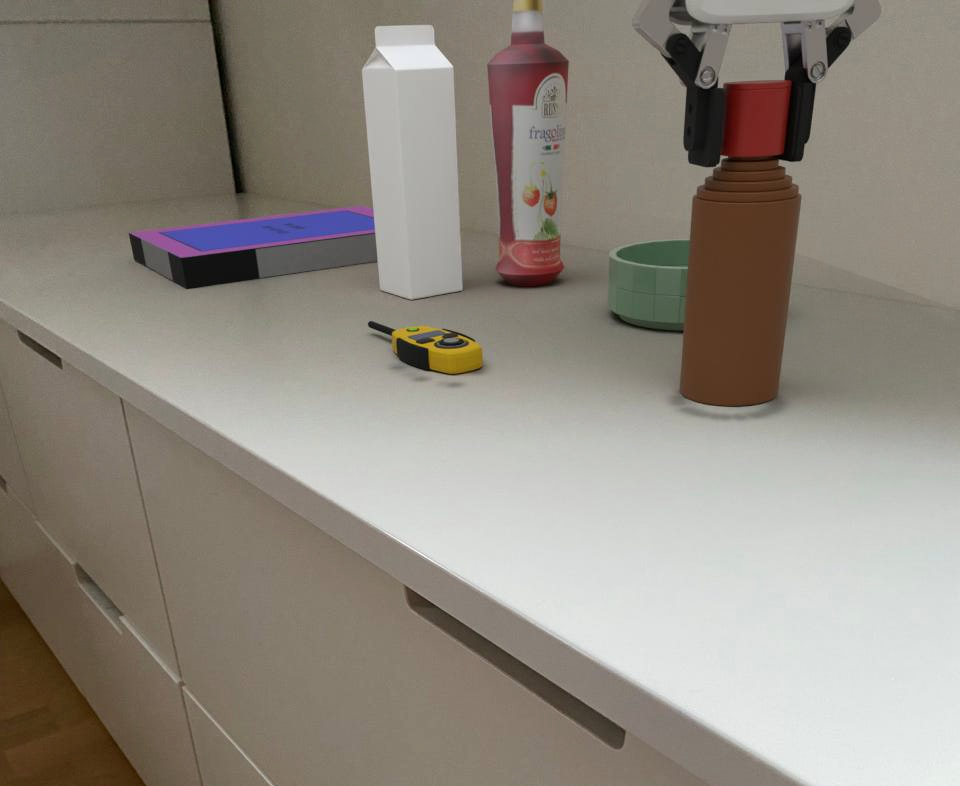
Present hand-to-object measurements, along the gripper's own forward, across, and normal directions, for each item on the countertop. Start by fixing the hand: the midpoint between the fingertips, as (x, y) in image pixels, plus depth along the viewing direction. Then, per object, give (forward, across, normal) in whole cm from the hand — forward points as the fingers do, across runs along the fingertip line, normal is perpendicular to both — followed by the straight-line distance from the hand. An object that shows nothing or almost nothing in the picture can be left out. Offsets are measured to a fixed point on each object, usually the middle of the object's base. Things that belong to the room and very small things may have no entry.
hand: (744, 158), depth 58 cm
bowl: (+14, -6, -21) cm, 26 cm away
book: (+14, +26, -64) cm, 71 cm away
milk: (+14, +14, -39) cm, 44 cm away
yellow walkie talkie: (+14, +18, -17) cm, 29 cm away
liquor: (+14, +3, -39) cm, 42 cm away
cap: (0, 0, 0) cm, 0 cm away
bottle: (+14, 0, 0) cm, 14 cm away
